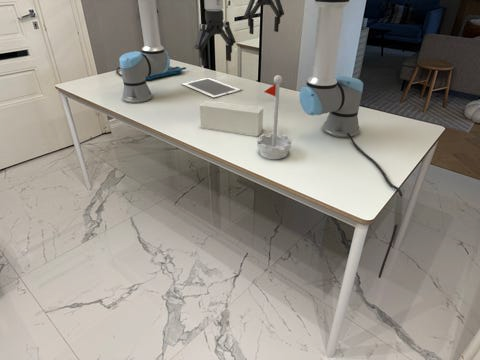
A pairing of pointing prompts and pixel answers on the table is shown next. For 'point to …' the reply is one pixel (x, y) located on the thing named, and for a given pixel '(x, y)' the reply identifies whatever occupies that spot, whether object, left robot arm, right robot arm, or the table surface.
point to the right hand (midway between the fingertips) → (263, 32)
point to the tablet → (211, 87)
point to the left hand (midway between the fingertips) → (216, 63)
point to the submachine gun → (167, 72)
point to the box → (231, 118)
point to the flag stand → (274, 131)
